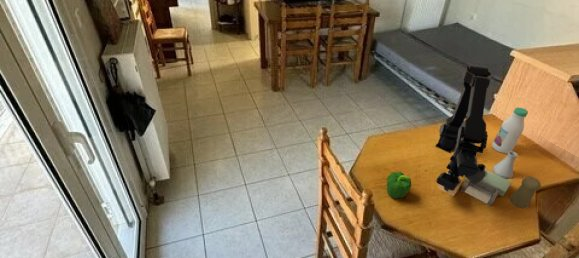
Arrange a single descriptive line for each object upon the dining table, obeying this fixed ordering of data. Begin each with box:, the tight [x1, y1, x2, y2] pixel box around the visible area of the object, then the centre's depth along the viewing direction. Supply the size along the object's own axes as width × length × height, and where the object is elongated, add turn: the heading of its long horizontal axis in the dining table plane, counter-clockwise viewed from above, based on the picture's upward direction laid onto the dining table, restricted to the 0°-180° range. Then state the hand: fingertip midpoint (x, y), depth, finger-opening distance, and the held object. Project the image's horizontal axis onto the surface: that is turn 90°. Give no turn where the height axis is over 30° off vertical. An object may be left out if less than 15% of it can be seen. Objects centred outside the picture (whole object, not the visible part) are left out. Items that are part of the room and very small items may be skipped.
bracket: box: [460, 179, 500, 207], centre depth 116 cm, size 10×8×2 cm
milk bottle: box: [491, 106, 529, 155], centre depth 131 cm, size 8×8×20 cm
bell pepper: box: [386, 171, 412, 199], centre depth 114 cm, size 8×8×10 cm
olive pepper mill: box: [509, 176, 542, 209], centre depth 110 cm, size 6×6×11 cm
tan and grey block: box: [437, 171, 463, 197], centre depth 117 cm, size 6×4×6 cm
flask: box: [492, 150, 519, 179], centre depth 122 cm, size 7×7×10 cm
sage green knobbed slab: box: [463, 169, 512, 197], centre depth 120 cm, size 14×7×4 cm, turn 46°
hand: (448, 187), depth 118 cm, fingers closed on tan and grey block, 4 cm apart
